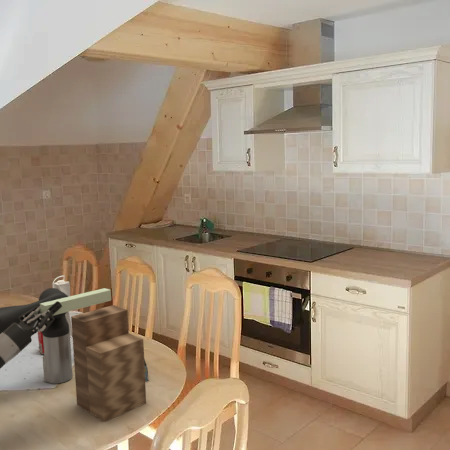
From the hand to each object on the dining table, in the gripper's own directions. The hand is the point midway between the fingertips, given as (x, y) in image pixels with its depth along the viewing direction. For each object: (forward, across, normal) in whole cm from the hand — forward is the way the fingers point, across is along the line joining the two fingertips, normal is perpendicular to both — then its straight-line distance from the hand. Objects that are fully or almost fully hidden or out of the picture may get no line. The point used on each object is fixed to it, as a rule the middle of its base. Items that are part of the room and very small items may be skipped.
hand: (56, 302), depth 159 cm
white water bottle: (+10, +62, +50) cm, 80 cm away
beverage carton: (+11, +10, +50) cm, 52 cm away
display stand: (-6, -4, +40) cm, 40 cm away
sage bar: (+4, 0, +6) cm, 8 cm away
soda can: (0, +53, +43) cm, 68 cm away
